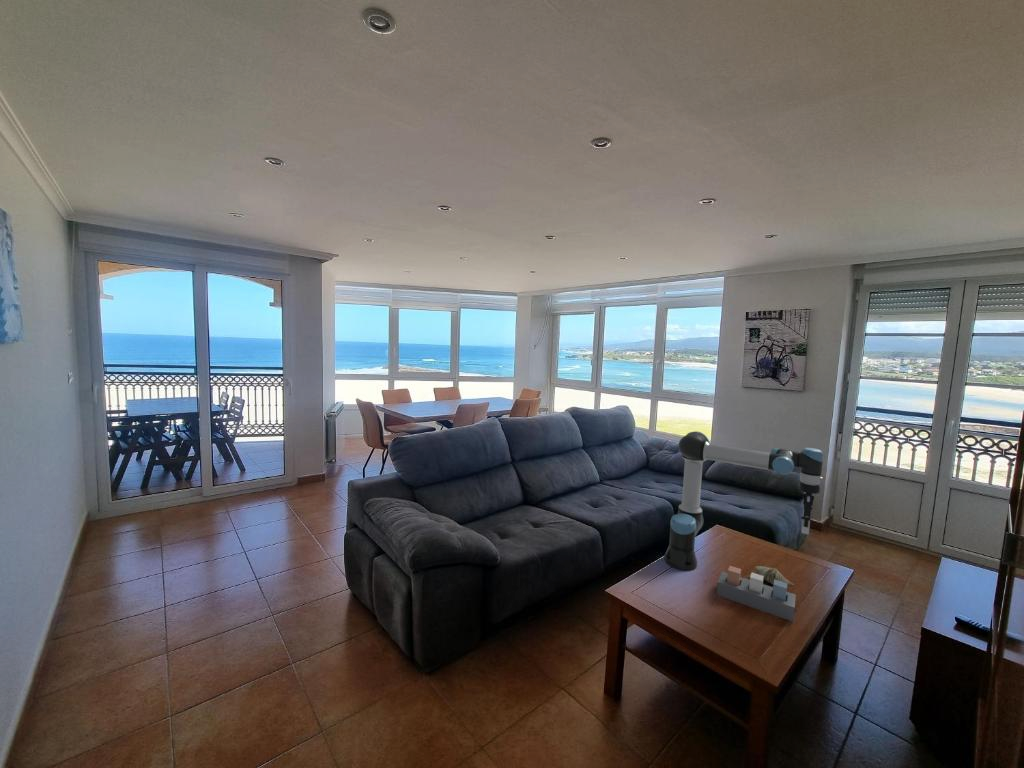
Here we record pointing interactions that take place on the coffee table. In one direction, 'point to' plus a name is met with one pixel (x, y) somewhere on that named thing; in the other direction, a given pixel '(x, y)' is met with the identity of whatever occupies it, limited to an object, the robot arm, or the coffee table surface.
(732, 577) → the salmon brown block
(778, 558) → the coffee table surface
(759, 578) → the white key
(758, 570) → the seashell
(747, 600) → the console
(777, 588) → the blue key
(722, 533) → the coffee table surface
